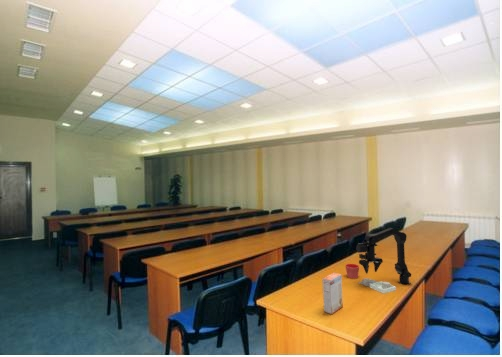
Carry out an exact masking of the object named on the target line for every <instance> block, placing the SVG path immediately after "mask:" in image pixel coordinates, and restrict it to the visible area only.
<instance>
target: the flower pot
mask: <svg viewBox="0 0 502 357" xmlns="http://www.w3.org/2000/svg"><path fill="white" fill-rule="evenodd" d="M345 270H346V275H347V278H348V279H349V278H350V279H358V278H359V270H360V265H358V264H356V263H347V264H345Z"/></svg>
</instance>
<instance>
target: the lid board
mask: <svg viewBox="0 0 502 357" xmlns="http://www.w3.org/2000/svg"><path fill="white" fill-rule="evenodd" d="M369 279H370V278H369ZM370 280H371V284H372V283H376V282H378V281H376V280H374V279H370ZM358 284H360V285H363V286H365V285H364V284H363V279H362V281H358Z"/></svg>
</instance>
